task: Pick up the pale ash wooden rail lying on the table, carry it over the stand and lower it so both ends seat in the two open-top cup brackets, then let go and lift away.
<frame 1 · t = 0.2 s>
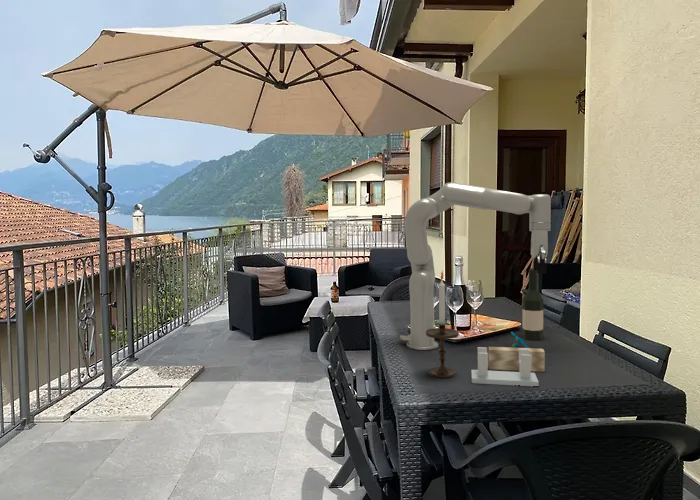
hand: (539, 271, 188), 31 cm above the table, tool pointing down, fingers open, 9 cm apart
cradle: (503, 380, 159), on the table
candlestick: (442, 374, 166), on the table
rail: (515, 369, 170), on the table
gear: (520, 350, 193), on the table
wine bottle: (532, 338, 211), on the table
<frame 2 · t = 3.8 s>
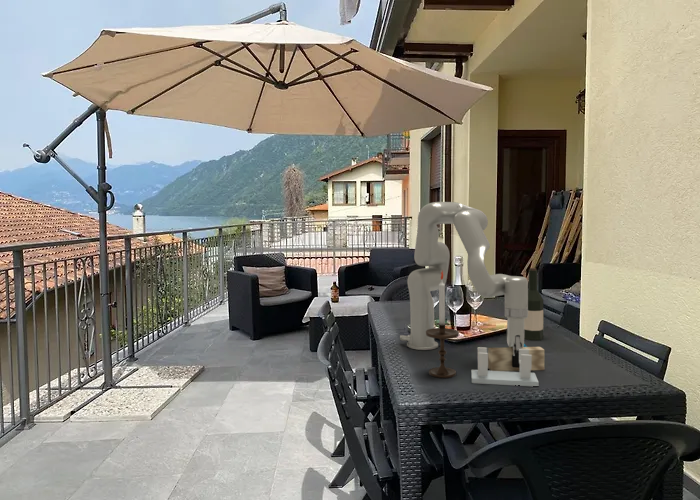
hand: (516, 364, 170), 2 cm above the table, tool pointing down, fingers closed on rail, 4 cm apart
rail: (515, 368, 170), on the table, touching gripper
everything else where it was.
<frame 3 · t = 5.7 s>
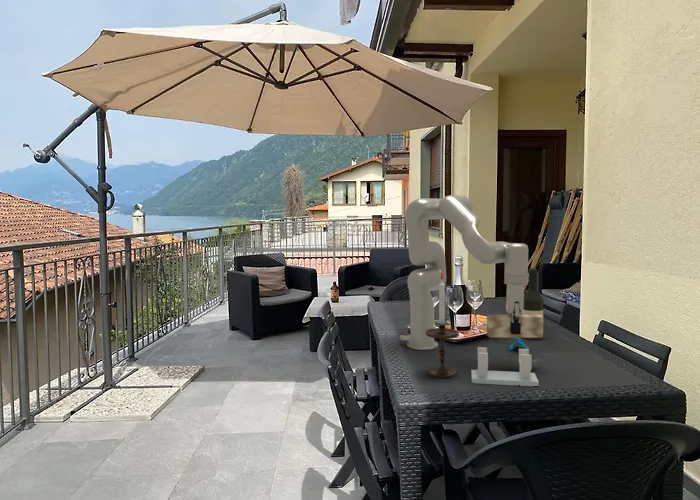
hand: (514, 331, 170), 13 cm above the table, tool pointing down, fingers closed on rail, 4 cm apart
rail: (514, 335, 170), point 11 cm above the table, touching gripper
everything else where it was.
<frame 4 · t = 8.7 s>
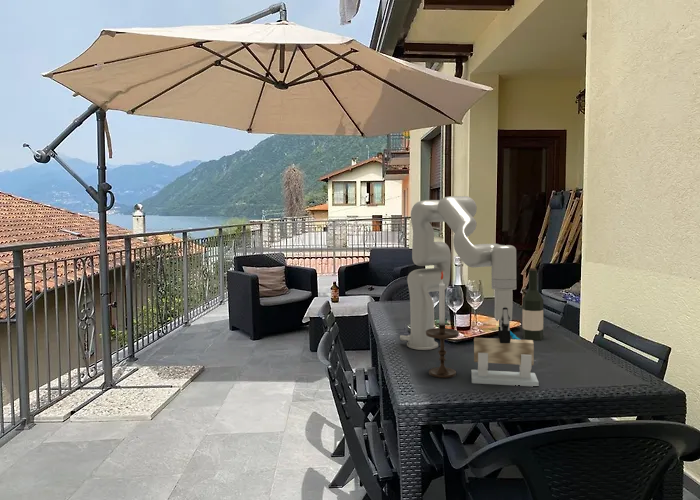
hand: (504, 340, 158), 13 cm above the table, tool pointing down, fingers open, 4 cm apart
rail: (503, 361, 158), point 6 cm above the table, touching cradle, gripper
everything else where it was.
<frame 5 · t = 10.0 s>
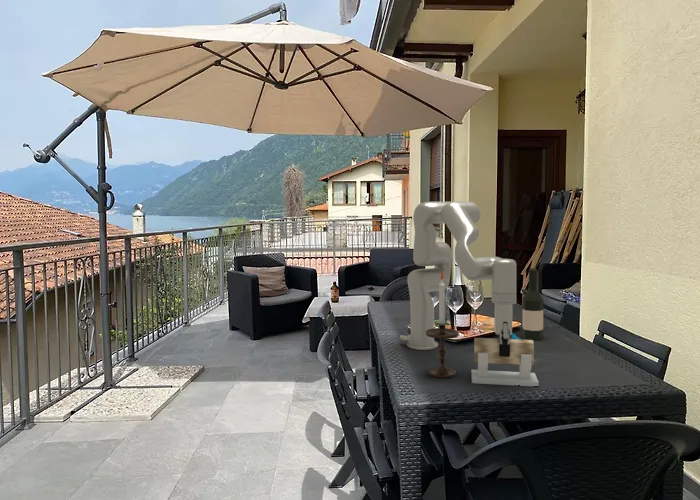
hand: (503, 353, 158), 9 cm above the table, tool pointing down, fingers closed on rail, 4 cm apart
rail: (503, 361, 158), point 6 cm above the table, touching cradle, gripper
everything else where it was.
when the fingers open (9 cm above the table, at t = 10.0 s): rail stays where it is, resting on cradle.
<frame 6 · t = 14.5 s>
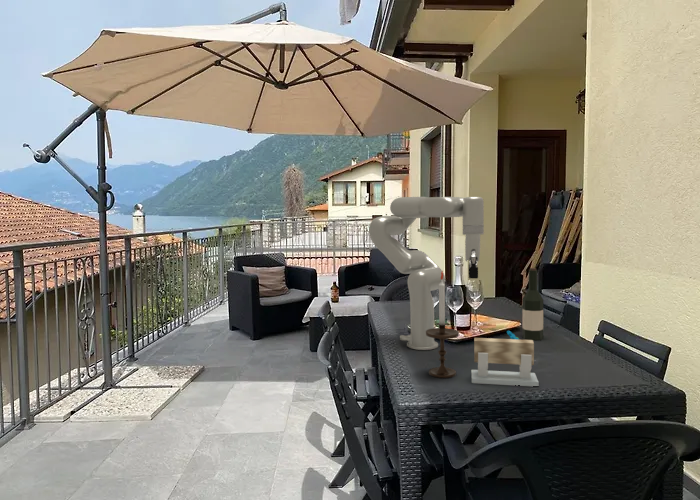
hand: (473, 276, 183), 30 cm above the table, tool pointing down, fingers open, 9 cm apart
rail: (503, 361, 158), point 6 cm above the table, touching cradle
at the end: rail 0.1 cm off-centre on the cradle, point 6.0 cm above the cradle's base; rail tilted 0°; the gripper is holding nothing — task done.
